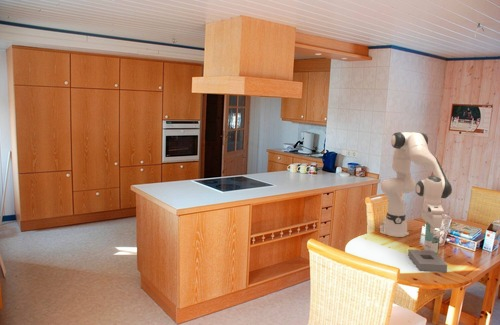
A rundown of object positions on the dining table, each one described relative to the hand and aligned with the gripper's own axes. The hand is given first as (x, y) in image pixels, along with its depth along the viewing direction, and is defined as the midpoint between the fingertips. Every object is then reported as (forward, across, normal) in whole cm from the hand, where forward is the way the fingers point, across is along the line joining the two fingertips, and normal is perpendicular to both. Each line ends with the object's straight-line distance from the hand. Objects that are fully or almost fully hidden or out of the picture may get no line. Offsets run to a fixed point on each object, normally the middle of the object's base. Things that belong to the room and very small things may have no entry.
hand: (429, 231), depth 215 cm
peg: (+5, 0, 0) cm, 5 cm away
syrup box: (+19, -16, +8) cm, 26 cm away
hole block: (+19, 0, 0) cm, 19 cm away
